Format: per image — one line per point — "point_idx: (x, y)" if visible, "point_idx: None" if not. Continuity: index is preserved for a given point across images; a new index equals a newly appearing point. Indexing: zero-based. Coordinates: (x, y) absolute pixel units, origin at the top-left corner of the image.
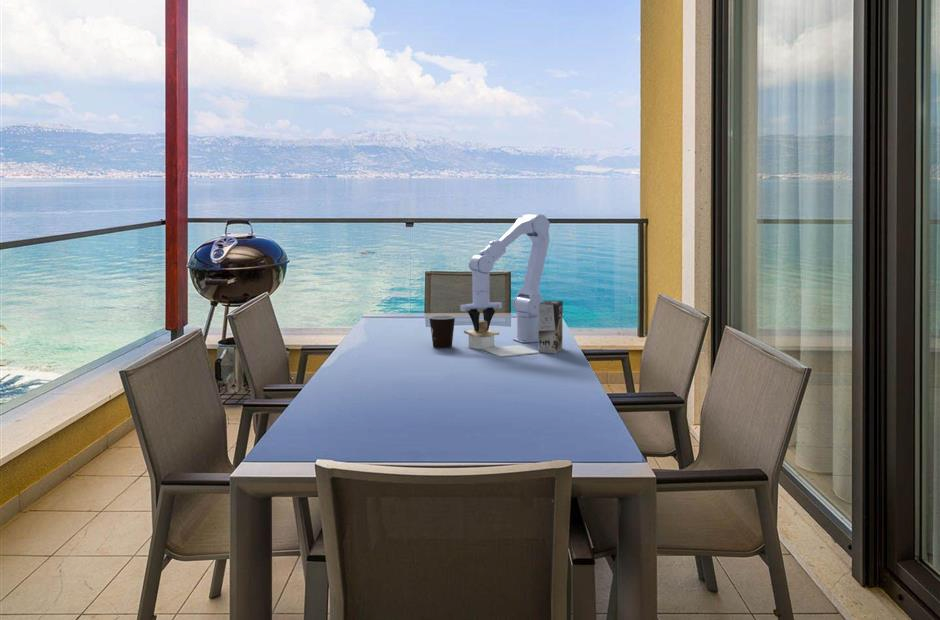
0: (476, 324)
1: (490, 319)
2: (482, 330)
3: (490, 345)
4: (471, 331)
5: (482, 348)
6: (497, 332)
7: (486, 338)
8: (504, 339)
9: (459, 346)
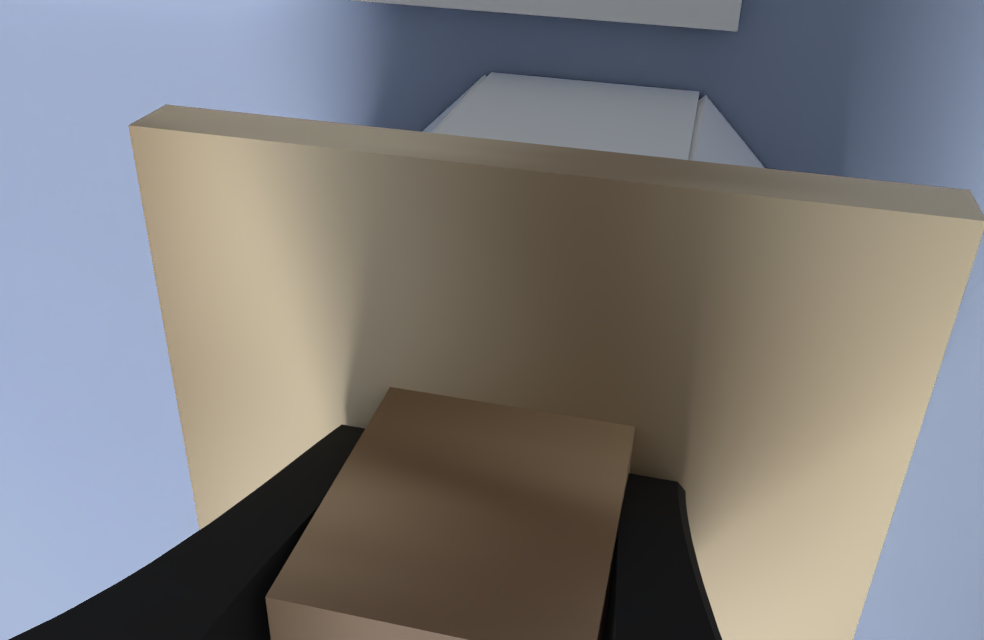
0: (711, 626)
1: (111, 610)
2: (522, 440)
3: (480, 87)
4: (728, 630)
5: (740, 8)
6: (172, 154)
7: None
8: (34, 539)
9: (923, 526)
